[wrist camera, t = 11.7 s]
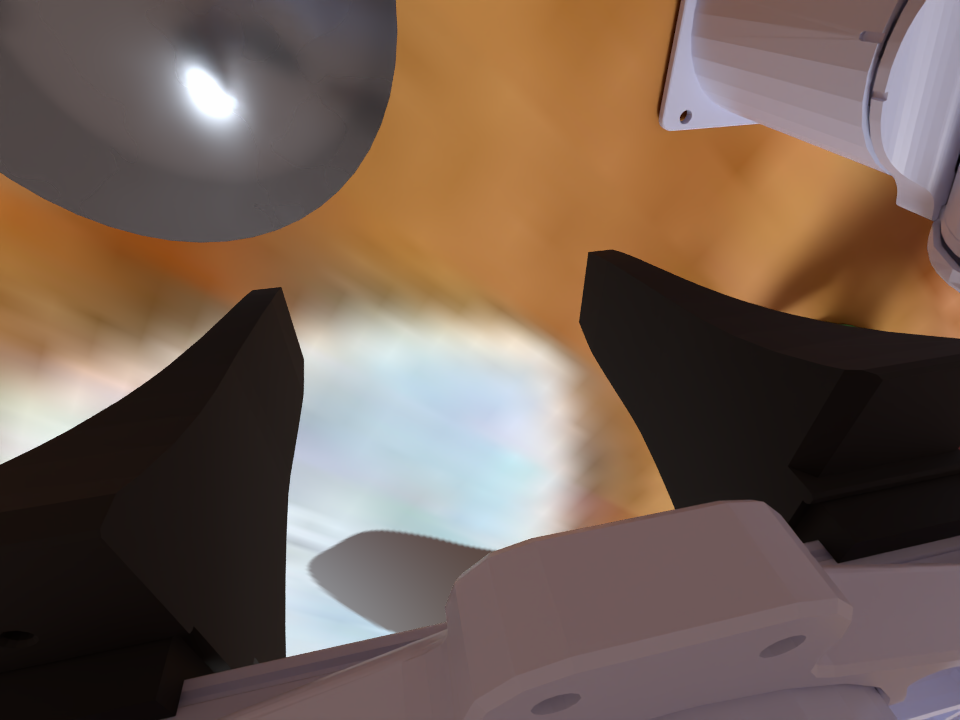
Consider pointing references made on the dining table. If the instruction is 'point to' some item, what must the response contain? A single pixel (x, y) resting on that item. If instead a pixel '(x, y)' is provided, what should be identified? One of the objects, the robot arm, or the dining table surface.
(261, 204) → the balance
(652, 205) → the dining table surface
